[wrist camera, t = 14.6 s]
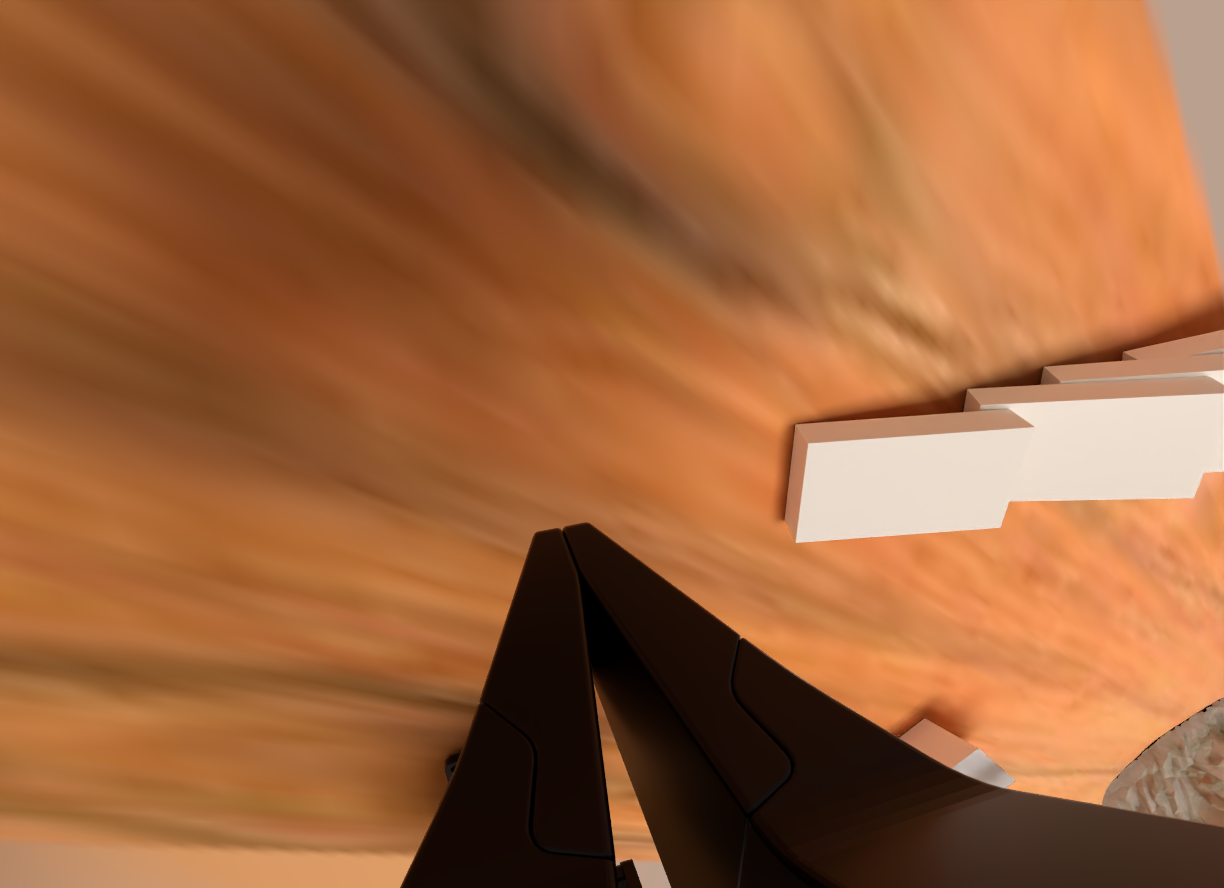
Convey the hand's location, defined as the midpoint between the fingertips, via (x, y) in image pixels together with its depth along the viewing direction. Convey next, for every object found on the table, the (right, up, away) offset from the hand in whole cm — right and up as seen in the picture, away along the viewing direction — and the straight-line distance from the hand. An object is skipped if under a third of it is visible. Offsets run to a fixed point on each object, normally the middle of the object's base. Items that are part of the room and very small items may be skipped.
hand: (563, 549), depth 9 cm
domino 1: (+9, 0, +16) cm, 18 cm away
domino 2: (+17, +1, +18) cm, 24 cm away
